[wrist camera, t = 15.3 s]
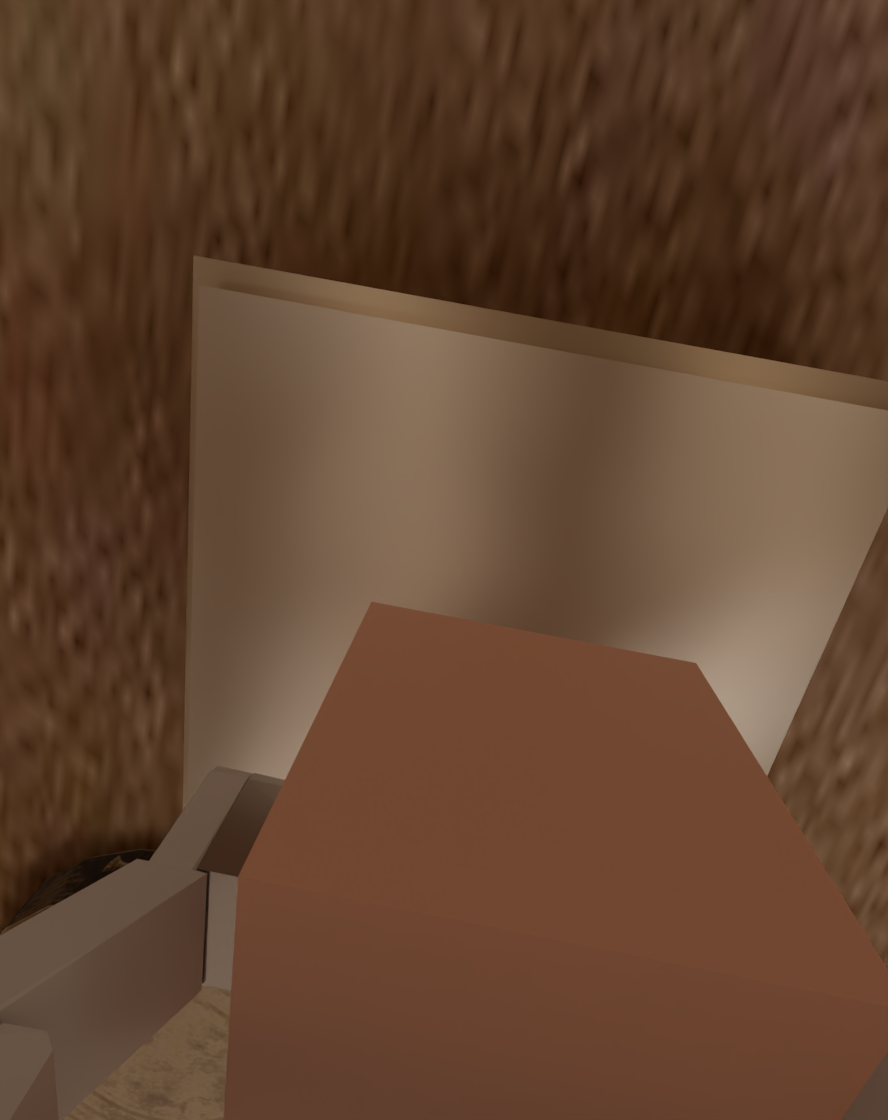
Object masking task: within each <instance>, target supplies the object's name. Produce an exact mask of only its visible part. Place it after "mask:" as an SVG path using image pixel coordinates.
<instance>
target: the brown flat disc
mask: <svg viewBox="0 0 888 1120" xmlns="http://www.w3.org/2000/svg"><path fill="white" fill-rule="evenodd" d="M155 851H156V850H149V849H135V850H129V851H123V852H117V853H111V854H105V855H99V856H94V857H88V858H85V859H83V860H81V861H79V862H77V863H75V864H74V865H72V866H70V867H68V868H66V869H65V870H63V871H61V872H59V873H57V874H55V875H54V876H52V877H50V878H48V879H46V880H45V881H44V882H43V883H42V884H41V886H40V887H39V888H38V889H37V890H36V892H35V893H34V894H33V895H32V896H31V898H30V899H29V900H28V901H27V902H26V904H25V905H24V906H23V907H22V908H21V910H20V911H19V912H18V913H17V914H16V916H15V917H14V918H13V919H12V920H11V922H10V923H9V924H8V925H7V926H6V928H5V929H4V930H3V931H2V932H1V934H0V935H2V934H3V933H5V932H7V931H9V930H11V929H12V928H14V927H16V926H18V925H20V924H21V923H23V922H25V921H27V920H29V919H30V918H32V917H34V916H36V915H38V914H39V913H41V912H43V911H45V910H46V909H48V908H50V907H52V906H54V905H55V904H57V903H59V902H61V901H63V900H64V899H66V898H68V897H70V896H72V895H73V894H75V893H77V892H79V891H80V890H82V889H84V888H86V887H88V886H89V885H91V884H93V883H95V882H97V881H98V880H100V879H102V878H104V877H106V876H107V875H109V874H111V873H113V872H114V871H116V870H118V869H120V868H122V867H123V866H125V865H127V864H129V863H131V862H132V861H134V860H136V859H140V860H146V861H149V860H150V859H151V857H152V856H153V854H154V853H155ZM230 1002H231V990H228V989H222V988H216V987H211V986H205V985H202V990H201V991H200V992H199V993H198V994H197V995H196V996H195V997H194V998H193V999H192V1000H191V1001H190V1002H189V1003H187V1004H186V1005H185V1006H184V1007H183V1008H182V1009H181V1010H180V1011H179V1012H178V1013H177V1014H176V1015H175V1016H173V1017H172V1018H171V1019H170V1020H169V1021H168V1022H167V1023H166V1024H165V1025H164V1026H163V1027H162V1028H161V1029H159V1030H158V1031H157V1032H156V1033H155V1034H154V1035H153V1036H152V1037H151V1038H150V1039H149V1040H148V1041H147V1042H145V1043H144V1044H143V1045H142V1046H141V1047H140V1048H139V1049H138V1050H137V1051H136V1052H135V1053H134V1054H133V1055H131V1056H130V1057H129V1058H128V1059H127V1060H126V1061H125V1062H124V1063H123V1064H122V1065H121V1066H120V1067H119V1068H117V1069H116V1070H115V1071H114V1072H113V1073H112V1074H111V1075H110V1076H109V1077H108V1078H107V1079H106V1080H105V1081H103V1082H102V1083H101V1084H100V1085H99V1086H98V1087H97V1088H96V1089H95V1090H94V1091H93V1092H92V1093H91V1094H89V1095H88V1096H87V1097H86V1098H85V1099H84V1100H83V1101H82V1102H81V1103H80V1104H79V1105H78V1106H77V1107H75V1108H74V1109H73V1110H72V1111H71V1112H70V1113H69V1114H68V1115H67V1116H66V1117H65V1118H64V1119H63V1120H223V1117H224V1101H225V1084H226V1068H227V1051H228V1035H229V1018H230Z"/></svg>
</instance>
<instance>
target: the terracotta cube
mask: <svg viewBox="0 0 888 1120" xmlns="http://www.w3.org/2000/svg"><path fill="white" fill-rule="evenodd" d="M887 1051H888V969H887V967H886V966H885V964H884V963H883V961H882V959H881V958H880V956H879V955H878V953H877V951H876V950H875V948H874V947H873V945H872V943H871V942H870V940H869V939H868V937H867V935H866V934H865V932H864V931H863V929H862V927H861V926H860V924H859V923H858V921H857V919H856V918H855V916H854V915H853V913H852V911H851V910H850V908H849V907H848V905H847V903H846V902H845V900H844V899H843V897H842V895H841V894H840V892H839V891H838V889H837V887H836V886H835V884H834V883H833V881H832V879H831V878H830V876H829V875H828V873H827V871H826V870H825V868H824V867H823V865H822V863H821V862H820V860H819V859H818V857H817V855H816V854H815V852H814V851H813V849H812V847H811V846H810V844H809V843H808V841H807V839H806V838H805V836H804V835H803V833H802V831H801V830H800V828H799V827H798V825H797V823H796V822H795V820H794V819H793V817H792V815H791V814H790V812H789V811H788V809H787V807H786V806H785V804H784V803H783V801H782V799H781V798H780V796H779V795H778V793H777V791H776V790H775V788H774V787H773V785H772V783H771V782H770V780H769V779H768V777H767V775H766V774H765V772H764V771H763V769H762V767H761V766H760V764H759V763H758V761H757V759H756V758H755V756H754V755H753V753H752V751H751V750H750V748H749V747H748V745H747V743H746V742H745V740H744V739H743V737H742V735H741V734H740V732H739V731H738V729H737V727H736V726H735V724H734V723H733V721H732V719H731V718H730V716H729V715H728V713H727V711H726V710H725V708H724V707H723V705H722V703H721V702H720V700H719V699H718V697H717V695H716V694H715V692H714V691H713V689H712V687H711V686H710V684H709V683H708V681H707V679H706V678H705V676H704V675H703V673H702V671H701V670H700V668H699V667H698V665H697V663H693V662H688V661H683V660H677V659H672V658H667V657H661V656H656V655H651V654H646V653H640V652H635V651H630V650H624V649H619V648H614V647H609V646H603V645H598V644H593V643H588V642H582V641H577V640H572V639H566V638H561V637H556V636H551V635H545V634H540V633H535V632H529V631H524V630H519V629H514V628H508V627H503V626H498V625H492V624H487V623H482V622H477V621H471V620H466V619H461V618H455V617H450V616H445V615H440V614H434V613H429V612H424V611H418V610H413V609H408V608H403V607H397V606H392V605H387V604H382V603H376V602H371V604H370V606H369V608H368V610H367V612H366V614H365V616H364V618H363V620H362V622H361V624H360V626H359V628H358V630H357V632H356V635H355V637H354V639H353V641H352V643H351V645H350V647H349V649H348V651H347V653H346V655H345V657H344V659H343V661H342V663H341V665H340V668H339V670H338V672H337V674H336V676H335V678H334V680H333V682H332V684H331V686H330V688H329V690H328V692H327V694H326V696H325V698H324V701H323V703H322V705H321V707H320V709H319V711H318V713H317V715H316V717H315V719H314V721H313V723H312V725H311V727H310V729H309V731H308V733H307V736H306V738H305V740H304V742H303V744H302V746H301V748H300V750H299V752H298V754H297V756H296V758H295V760H294V762H293V764H292V766H291V769H290V771H289V773H288V775H287V777H286V779H285V781H284V783H283V785H282V787H281V789H280V791H279V793H278V795H277V797H276V799H275V802H274V804H273V806H272V808H271V810H270V812H269V814H268V816H267V818H266V820H265V822H264V824H263V826H262V828H261V830H260V832H259V834H258V837H257V839H256V841H255V843H254V845H253V847H252V849H251V851H250V853H249V855H248V857H247V859H246V861H245V863H244V865H243V867H242V870H241V872H240V874H239V876H238V886H237V903H236V919H235V936H234V952H233V969H232V985H231V1002H230V1018H229V1035H228V1051H227V1068H226V1084H225V1101H224V1117H223V1120H841V1119H842V1118H843V1116H844V1115H845V1113H846V1112H847V1110H848V1109H849V1107H850V1106H851V1104H852V1103H853V1101H854V1100H855V1099H856V1097H857V1096H858V1094H859V1093H860V1091H861V1090H862V1088H863V1087H864V1085H865V1084H866V1082H867V1081H868V1079H869V1078H870V1076H871V1075H872V1073H873V1072H874V1070H875V1069H876V1067H877V1066H878V1064H879V1063H880V1061H881V1060H882V1058H883V1057H884V1055H885V1054H886V1053H887Z"/></svg>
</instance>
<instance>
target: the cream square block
mask: <svg viewBox="0 0 888 1120" xmlns="http://www.w3.org/2000/svg"><path fill="white" fill-rule="evenodd" d="M887 508H888V381H883V380H877V379H872V378H866V377H861V376H855V375H850V374H844V373H839V372H833V371H828V370H822V369H817V368H811V367H806V366H800V365H795V364H789V363H784V362H778V361H773V360H767V359H762V358H756V357H751V356H745V355H740V354H734V353H729V352H723V351H718V350H712V349H707V348H701V347H696V346H690V345H685V344H679V343H674V342H668V341H663V340H657V339H652V338H646V337H641V336H635V335H630V334H624V333H619V332H613V331H608V330H602V329H597V328H591V327H586V326H580V325H575V324H569V323H564V322H558V321H553V320H547V319H542V318H536V317H531V316H525V315H520V314H514V313H509V312H503V311H498V310H492V309H487V308H481V307H476V306H470V305H465V304H459V303H454V302H448V301H443V300H437V299H432V298H426V297H421V296H415V295H410V294H404V293H399V292H393V291H388V290H382V289H377V288H371V287H365V286H360V285H354V284H349V283H343V282H338V281H332V280H327V279H321V278H316V277H310V276H305V275H299V274H294V273H288V272H283V271H277V270H272V269H266V268H261V267H255V266H250V265H244V264H239V263H233V262H228V261H222V260H217V259H211V258H206V257H200V256H195V255H193V304H192V356H191V407H190V458H189V510H188V561H187V612H186V663H185V715H184V766H183V810H184V808H185V807H186V806H187V804H188V803H189V801H190V800H191V798H192V797H193V795H194V794H195V792H196V791H197V789H198V788H199V786H200V785H201V783H202V782H203V780H204V779H205V777H206V776H207V774H208V773H209V772H210V771H212V770H213V769H214V768H216V767H217V766H218V765H219V766H223V767H227V768H231V769H236V770H240V771H244V772H248V773H252V774H254V773H257V774H262V775H266V776H270V777H275V778H279V779H284V780H285V779H286V777H287V775H288V773H289V771H290V769H291V766H292V764H293V762H294V760H295V758H296V756H297V754H298V752H299V750H300V748H301V746H302V744H303V742H304V740H305V738H306V736H307V733H308V731H309V729H310V727H311V725H312V723H313V721H314V719H315V717H316V715H317V713H318V711H319V709H320V707H321V705H322V703H323V701H324V698H325V696H326V694H327V692H328V690H329V688H330V686H331V684H332V682H333V680H334V678H335V676H336V674H337V672H338V670H339V668H340V665H341V663H342V661H343V659H344V657H345V655H346V653H347V651H348V649H349V647H350V645H351V643H352V641H353V639H354V637H355V635H356V632H357V630H358V628H359V626H360V624H361V622H362V620H363V618H364V616H365V614H366V612H367V610H368V608H369V606H370V604H371V602H376V603H382V604H387V605H392V606H397V607H403V608H408V609H413V610H418V611H424V612H429V613H434V614H440V615H445V616H450V617H455V618H461V619H466V620H471V621H477V622H482V623H487V624H492V625H498V626H503V627H508V628H514V629H519V630H524V631H529V632H535V633H540V634H545V635H551V636H556V637H561V638H566V639H572V640H577V641H582V642H588V643H593V644H598V645H603V646H609V647H614V648H619V649H624V650H630V651H635V652H640V653H646V654H651V655H656V656H661V657H667V658H672V659H677V660H683V661H688V662H693V663H697V665H698V667H699V668H700V670H701V671H702V673H703V675H704V676H705V678H706V679H707V681H708V683H709V684H710V686H711V687H712V689H713V691H714V692H715V694H716V695H717V697H718V699H719V700H720V702H721V703H722V705H723V707H724V708H725V710H726V711H727V713H728V715H729V716H730V718H731V719H732V721H733V723H734V724H735V726H736V727H737V729H738V731H739V732H740V734H741V735H742V737H743V739H744V740H745V742H746V743H747V745H748V747H749V748H750V750H751V751H752V753H753V755H754V756H755V758H756V759H757V761H758V763H759V764H760V766H761V767H762V769H763V771H764V772H765V774H766V775H768V773H769V771H770V768H771V766H772V764H773V762H774V759H775V757H776V755H777V753H778V751H779V748H780V746H781V744H782V742H783V739H784V737H785V735H786V733H787V731H788V728H789V726H790V724H791V722H792V719H793V717H794V715H795V713H796V711H797V708H798V706H799V704H800V702H801V699H802V697H803V695H804V693H805V690H806V688H807V686H808V684H809V682H810V679H811V677H812V675H813V673H814V670H815V668H816V666H817V664H818V662H819V659H820V657H821V655H822V653H823V650H824V648H825V646H826V644H827V642H828V639H829V637H830V635H831V633H832V630H833V628H834V626H835V624H836V622H837V619H838V617H839V615H840V613H841V610H842V608H843V606H844V604H845V602H846V599H847V597H848V595H849V593H850V590H851V588H852V586H853V584H854V582H855V579H856V577H857V575H858V573H859V570H860V568H861V566H862V564H863V561H864V559H865V557H866V555H867V553H868V550H869V548H870V546H871V544H872V541H873V539H874V537H875V535H876V533H877V530H878V528H879V526H880V524H881V521H882V519H883V517H884V515H885V513H886V510H887Z"/></svg>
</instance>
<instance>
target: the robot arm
mask: <svg viewBox="0 0 888 1120" xmlns="http://www.w3.org/2000/svg"><path fill="white" fill-rule="evenodd" d="M284 781H285V780H284V779H279V778H275V777H270V776H266V775H262V774H257V773H254V774H252V773H248V772H244V771H240V770H236V769H231V768H227V767H223V766H219V765H218V766H217V767H216V768H214V769H213V770H212V771H210V772H209V773H208V774H207V776H206V777H205V779H204V780H203V782H202V783H201V785H200V786H199V788H198V789H197V791H196V792H195V794H194V795H193V797H192V798H191V800H190V801H189V803H188V804H187V806H186V807H185V808H184V810H183V811H182V813H181V814H180V816H179V817H178V819H177V820H176V822H175V823H174V825H173V826H172V828H171V829H170V831H169V832H168V834H167V835H166V837H165V838H164V840H163V841H162V843H161V844H160V845H159V847H158V848H157V850H156V851H155V853H154V854H153V856H152V857H151V859H150V860H149V861H146V860H140V859H136V860H134V861H132V862H131V863H129V864H127V865H125V866H123V867H122V868H120V869H118V870H116V871H114V872H113V873H111V874H109V875H107V876H106V877H104V878H102V879H100V880H98V881H97V882H95V883H93V884H91V885H89V886H88V887H86V888H84V889H82V890H80V891H79V892H77V893H75V894H73V895H72V896H70V897H68V898H66V899H64V900H63V901H61V902H59V903H57V904H55V905H54V906H52V907H50V908H48V909H46V910H45V911H43V912H41V913H39V914H38V915H36V916H34V917H32V918H30V919H29V920H27V921H25V922H23V923H21V924H20V925H18V926H16V927H14V928H12V929H11V930H9V931H7V932H5V933H3V934H2V935H0V1120H63V1119H64V1118H65V1117H66V1116H67V1115H68V1114H69V1113H70V1112H71V1111H72V1110H73V1109H74V1108H75V1107H77V1106H78V1105H79V1104H80V1103H81V1102H82V1101H83V1100H84V1099H85V1098H86V1097H87V1096H88V1095H89V1094H91V1093H92V1092H93V1091H94V1090H95V1089H96V1088H97V1087H98V1086H99V1085H100V1084H101V1083H102V1082H103V1081H105V1080H106V1079H107V1078H108V1077H109V1076H110V1075H111V1074H112V1073H113V1072H114V1071H115V1070H116V1069H117V1068H119V1067H120V1066H121V1065H122V1064H123V1063H124V1062H125V1061H126V1060H127V1059H128V1058H129V1057H130V1056H131V1055H133V1054H134V1053H135V1052H136V1051H137V1050H138V1049H139V1048H140V1047H141V1046H142V1045H143V1044H144V1043H145V1042H147V1041H148V1040H149V1039H150V1038H151V1037H152V1036H153V1035H154V1034H155V1033H156V1032H157V1031H158V1030H159V1029H161V1028H162V1027H163V1026H164V1025H165V1024H166V1023H167V1022H168V1021H169V1020H170V1019H171V1018H172V1017H173V1016H175V1015H176V1014H177V1013H178V1012H179V1011H180V1010H181V1009H182V1008H183V1007H184V1006H185V1005H186V1004H187V1003H189V1002H190V1001H191V1000H192V999H193V998H194V997H195V996H196V995H197V994H198V993H199V992H200V991H201V990H202V985H205V986H211V987H216V988H222V989H228V990H231V985H232V969H233V952H234V936H235V919H236V903H237V886H238V876H239V874H240V872H241V870H242V867H243V865H244V863H245V861H246V859H247V857H248V855H249V853H250V851H251V849H252V847H253V845H254V843H255V841H256V839H257V837H258V834H259V832H260V830H261V828H262V826H263V824H264V822H265V820H266V818H267V816H268V814H269V812H270V810H271V808H272V806H273V804H274V802H275V799H276V797H277V795H278V793H279V791H280V789H281V787H282V785H283V783H284ZM841 1120H888V1051H887V1053H886V1054H885V1055H884V1057H883V1058H882V1060H881V1061H880V1063H879V1064H878V1066H877V1067H876V1069H875V1070H874V1072H873V1073H872V1075H871V1076H870V1078H869V1079H868V1081H867V1082H866V1084H865V1085H864V1087H863V1088H862V1090H861V1091H860V1093H859V1094H858V1096H857V1097H856V1099H855V1100H854V1101H853V1103H852V1104H851V1106H850V1107H849V1109H848V1110H847V1112H846V1113H845V1115H844V1116H843V1118H842V1119H841Z"/></svg>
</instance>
